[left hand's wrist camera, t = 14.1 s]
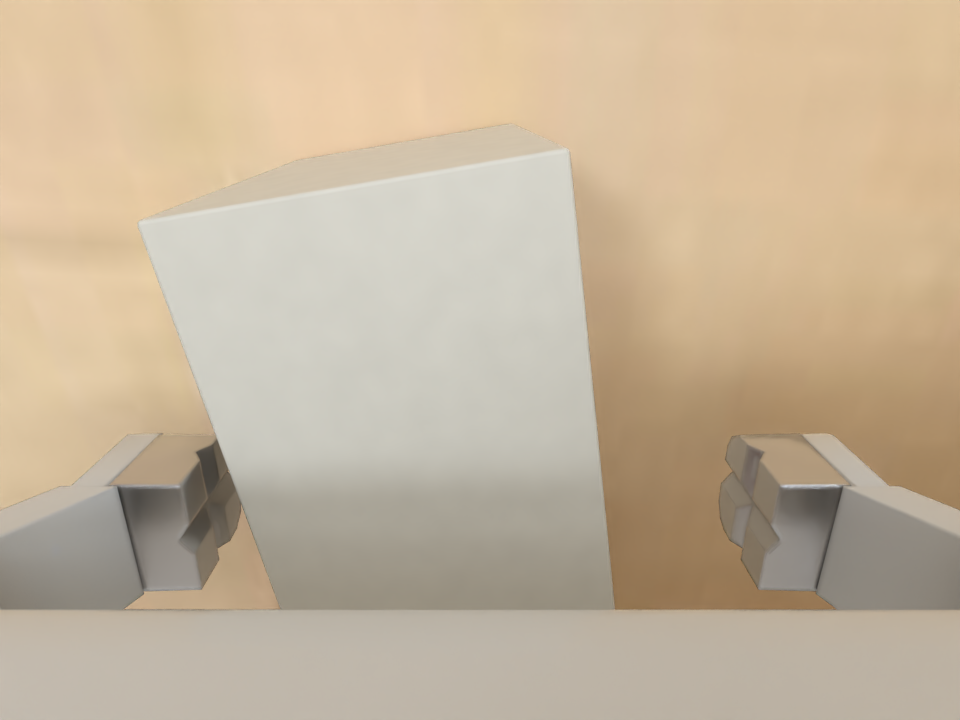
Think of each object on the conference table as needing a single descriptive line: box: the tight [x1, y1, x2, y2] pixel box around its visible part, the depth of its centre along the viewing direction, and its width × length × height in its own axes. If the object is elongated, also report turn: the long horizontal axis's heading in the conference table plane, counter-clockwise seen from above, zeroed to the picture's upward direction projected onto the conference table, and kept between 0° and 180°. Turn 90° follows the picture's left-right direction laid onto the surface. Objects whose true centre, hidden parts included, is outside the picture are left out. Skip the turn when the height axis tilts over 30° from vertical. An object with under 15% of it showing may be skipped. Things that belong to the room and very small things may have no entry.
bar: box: [138, 124, 615, 610], centre depth 17 cm, size 28×5×8 cm, turn 9°
